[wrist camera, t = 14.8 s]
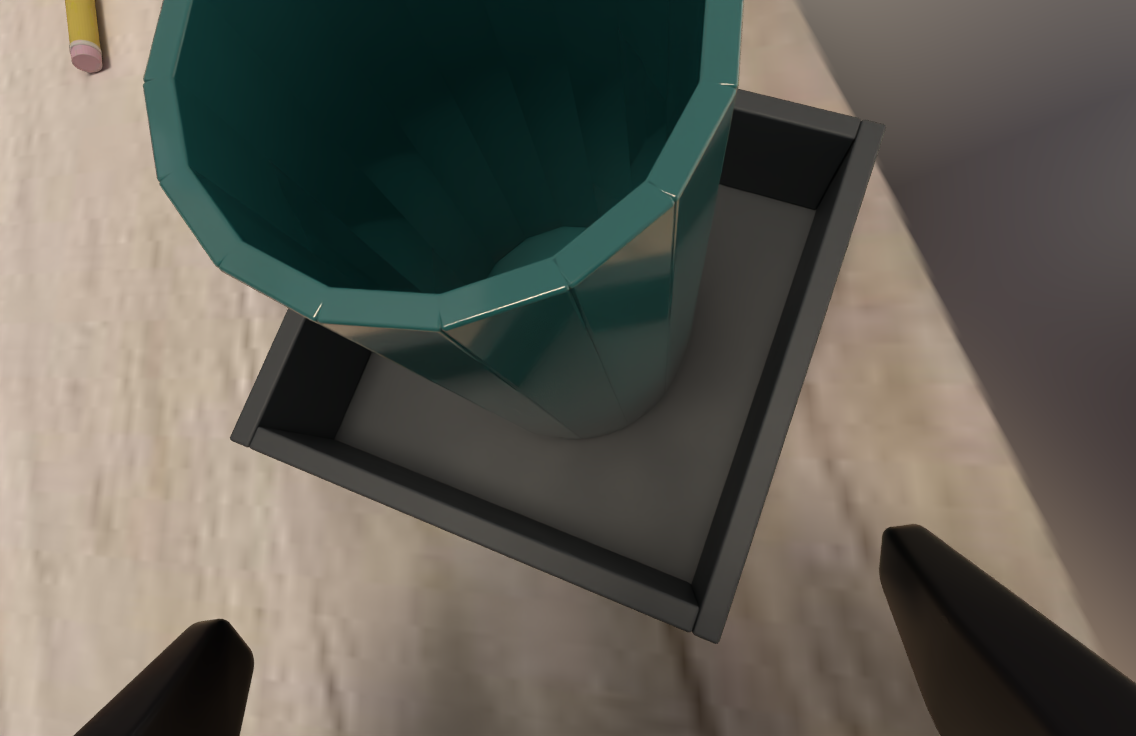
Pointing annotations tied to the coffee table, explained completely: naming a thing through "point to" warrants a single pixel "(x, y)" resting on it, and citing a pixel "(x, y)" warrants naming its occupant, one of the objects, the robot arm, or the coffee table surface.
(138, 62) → the coffee table surface
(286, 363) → the dark gray tray
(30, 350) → the coffee table surface
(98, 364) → the coffee table surface
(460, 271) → the tumbler
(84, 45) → the pencil
